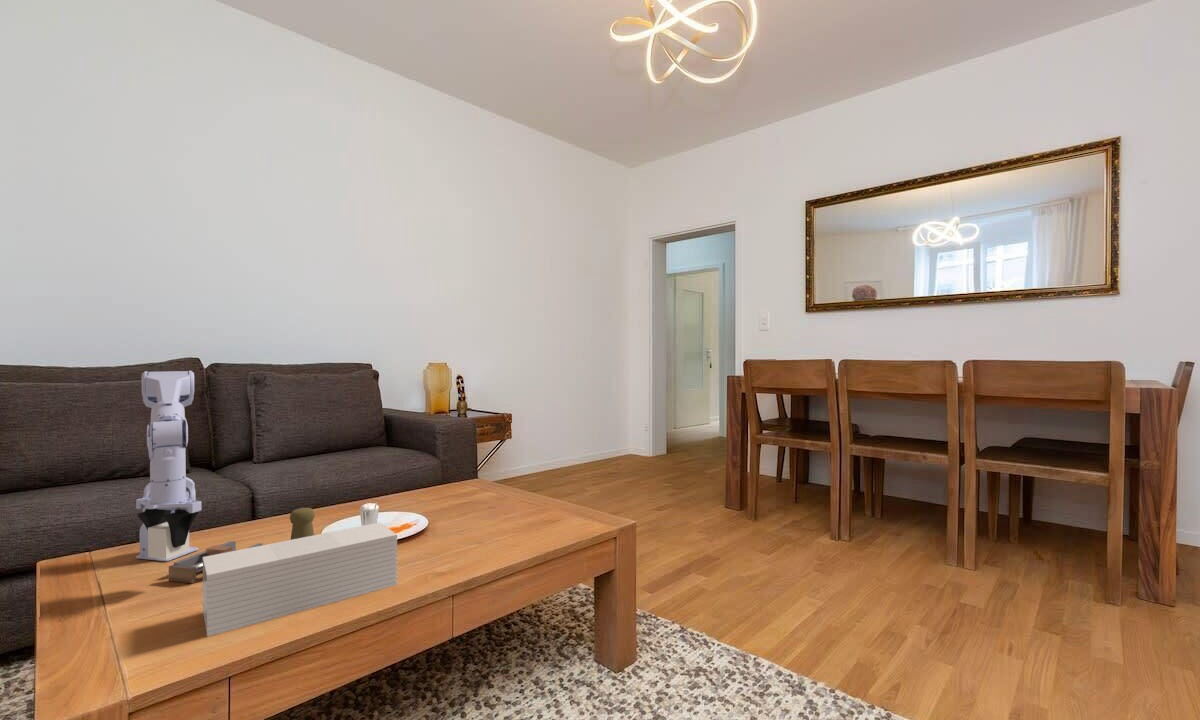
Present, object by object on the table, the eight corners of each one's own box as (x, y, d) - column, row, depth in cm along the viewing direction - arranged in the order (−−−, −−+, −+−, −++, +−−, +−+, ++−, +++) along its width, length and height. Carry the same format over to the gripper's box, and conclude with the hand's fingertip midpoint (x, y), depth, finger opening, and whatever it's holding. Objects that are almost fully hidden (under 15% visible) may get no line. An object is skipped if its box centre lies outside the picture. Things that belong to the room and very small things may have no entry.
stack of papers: (380, 570, 120) (380, 522, 120) (397, 586, 112) (397, 534, 112) (203, 614, 100) (202, 557, 99) (207, 638, 91) (206, 575, 91)
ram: (168, 580, 113) (168, 561, 113) (212, 562, 123) (212, 545, 123) (191, 583, 112) (191, 564, 112) (234, 564, 122) (233, 547, 122)
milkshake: (368, 543, 136) (368, 504, 136) (356, 539, 139) (355, 501, 139) (384, 538, 140) (384, 500, 140) (371, 534, 143) (371, 497, 143)
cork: (304, 560, 125) (303, 513, 125) (282, 558, 126) (281, 511, 126) (322, 550, 131) (322, 506, 131) (301, 549, 132) (300, 504, 132)
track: (173, 576, 116) (173, 562, 116) (231, 553, 130) (231, 540, 130) (207, 580, 114) (207, 566, 114) (262, 556, 128) (262, 543, 128)
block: (148, 557, 109) (147, 527, 109) (170, 549, 113) (170, 520, 113) (166, 559, 108) (165, 529, 108) (188, 551, 112) (188, 522, 112)
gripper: (119, 481, 108) (120, 548, 108) (177, 485, 105) (177, 554, 105) (155, 474, 115) (156, 537, 115) (210, 477, 112) (211, 542, 112)
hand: (169, 544), depth 111 cm, fingers closed on block, 5 cm apart
